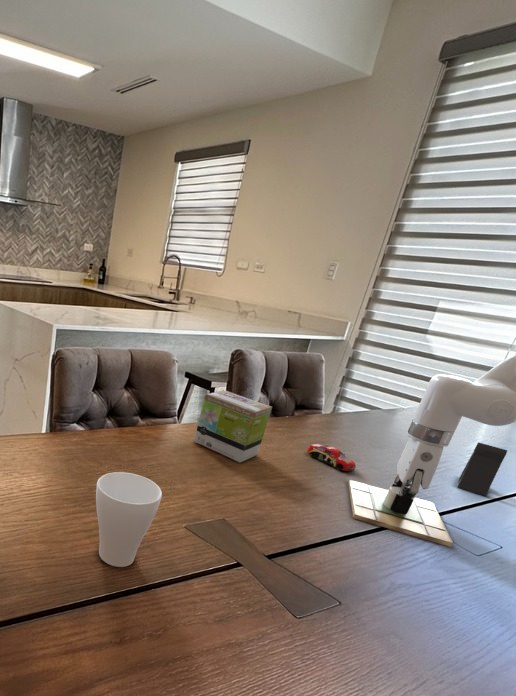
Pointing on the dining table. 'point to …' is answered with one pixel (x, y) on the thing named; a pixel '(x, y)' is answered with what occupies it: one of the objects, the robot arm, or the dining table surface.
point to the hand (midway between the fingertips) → (396, 505)
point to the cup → (124, 514)
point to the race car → (331, 457)
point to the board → (397, 514)
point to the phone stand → (481, 468)
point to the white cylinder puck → (391, 496)
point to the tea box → (232, 425)
